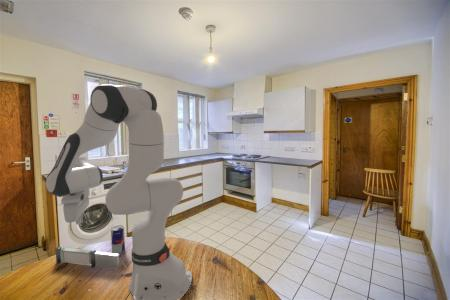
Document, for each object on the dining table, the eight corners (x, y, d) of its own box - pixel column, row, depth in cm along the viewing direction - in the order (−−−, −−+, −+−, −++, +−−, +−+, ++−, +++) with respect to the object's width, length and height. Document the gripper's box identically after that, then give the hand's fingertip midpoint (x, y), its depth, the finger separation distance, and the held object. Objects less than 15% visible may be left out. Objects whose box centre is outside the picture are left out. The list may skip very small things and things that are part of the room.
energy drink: (119, 256, 91) (118, 231, 90) (109, 255, 92) (107, 230, 91) (127, 249, 96) (126, 225, 95) (117, 248, 98) (116, 224, 96)
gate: (92, 262, 86) (91, 250, 86) (88, 265, 84) (88, 253, 84) (64, 259, 88) (63, 247, 88) (60, 262, 86) (60, 250, 86)
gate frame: (120, 267, 84) (119, 252, 84) (116, 270, 83) (116, 255, 82) (59, 260, 89) (58, 246, 88) (55, 263, 87) (54, 249, 86)
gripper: (76, 187, 98) (78, 214, 99) (59, 201, 79) (62, 235, 80) (91, 185, 100) (93, 212, 102) (78, 199, 81) (80, 232, 83)
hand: (79, 222), depth 91 cm, fingers closed
